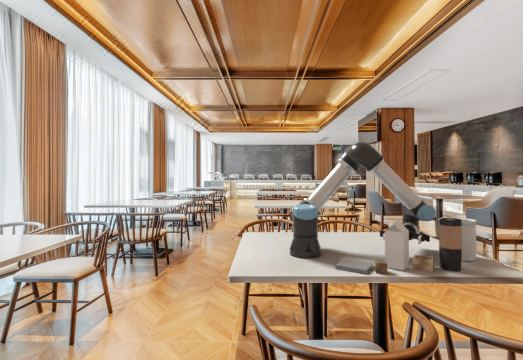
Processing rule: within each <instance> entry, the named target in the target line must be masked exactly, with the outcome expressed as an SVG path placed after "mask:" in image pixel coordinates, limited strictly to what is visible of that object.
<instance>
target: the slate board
mask: <svg viewBox="0 0 523 360" xmlns="http://www.w3.org/2000/svg"><path fill="white" fill-rule="evenodd" d="M334 266H335V267H334V268H335V269H336V270H341V271H346V272H350V273H352V272H353V273H356V274H363V275H367V274H368V273H369V272H370V271H371V270H372V269H373V268H375V262H372V261H364V260H358V259H352V258H343V259H342V260H341V261H339V262H338V263H336V264H335V265H334Z"/></svg>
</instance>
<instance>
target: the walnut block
mask: <svg viewBox="0 0 523 360" xmlns="http://www.w3.org/2000/svg"><path fill="white" fill-rule="evenodd" d="M374 271H375V273H376V274H380V275H388V268H387V262H386V261H385V260H379V259H378V260H377V259H375V260H374Z"/></svg>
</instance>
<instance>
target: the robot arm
mask: <svg viewBox="0 0 523 360" xmlns="http://www.w3.org/2000/svg"><path fill="white" fill-rule="evenodd" d="M361 168H363V169H365V170H366V172H367V173H372V175H374V176H375V178H377V179H378V181H379V182H380V183H381V184H382V185H383V186H385V188H386V189H388V191H389V192H390V193H391V194H393V195H394V197H395V198H396V199H397V200H399V202H401V204H402V205H401V207H402V210H401V211H402V225H403V226H404V227H405V228H407V229H408V230H409V242H410V241H412V240H416V241H417V245H421V243H422V242H428V243H430V241H431V240H430V239H431V235H428V234H426V233H424V232H423V231H420V229H421V228H420V221H422V222H431V221H432V220H434V219H435V218H436V216H437V212H436V209H435V207H434V206H432V205H430V204H427V203H426V202H425V201H424V200H423V199H422V198H421V197H420V196H419V195H418V194H417V193H416V192H415V191H414V190H413V189H412V188H411V187H410V186H409V185H408V184H407V183H406V182H405V181H404V180H403V179H402V178H401V177H400V176H399V175H398V174H397V173H396V172H395V171H394V170H393V169H392V168H391V167H390V166H389V165H388V164H387V163H386V162H385V157H383V156H382V155H381V153H379V151H378V150H377V149H376V148H374V146H372V145H371V144H370V143H368V142H364V141H359V142H356V143H354V144H351V145H349V146H347V147H346V148H345V149H344V150H343V153H342V155H340V157H339V158H338V159H337V164H336V166H334V167H333V169H331V171H330V173H329V174H328V175H327V176H326V177H325V178H324V179H323V181H322V182H320V184H319V185H318V186H317V187H316V188H315V190H314V191H313V192H312V193H311V194H310V196H308V197H306V198H305V197H304V198H303V199H302V200H301V201H300V203H299V204H296V205H294V206H293V209H292V211H291V220H292V222H293V223H292V225H293V229H292V230H293V232H292V233H293V234H292V235H293V236H292V237H293V238H292V241H291V244H290V247H289V255H290V256H292V257H297V258H304V259H314V258H318V257H321V256H322V254H323V253H322V248H321V247H322V246H321V244H320V241H319V238H318V237H319V236H318V235H319V232H318V231H319V230H318V227H319V226H318V225H319V224H318V223H319V222H318V221H319V220H318V219H319V216H320V215H321V213H322V208H323V207H324V206H325V205H326V203H328V201H329V200H330V199H331V198H332V196H334V194H335V193H337V191H338V190H339V189H340V188H341V187H342V185H343V184H344V183H345V182H346V181H347V179H349V177H350V176H351V175H356V174H357V172H358V171H360V169H361ZM379 237H381V238H382V240H383V241H385V230H380V231H379Z"/></svg>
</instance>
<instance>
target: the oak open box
mask: <svg viewBox="0 0 523 360" xmlns="http://www.w3.org/2000/svg"><path fill="white" fill-rule="evenodd" d="M411 264H412V270H418V271H422V272H424V271H425V272H431V273H433V272H434V269H435V256H429V255H428V256H427V255H421V254H414V255H413V256H412V263H411Z"/></svg>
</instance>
